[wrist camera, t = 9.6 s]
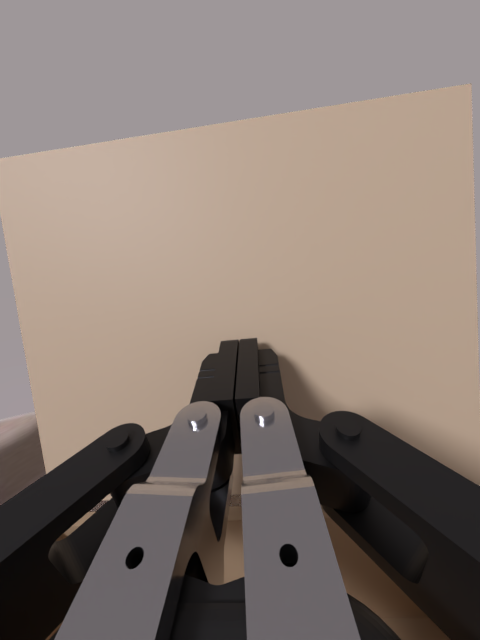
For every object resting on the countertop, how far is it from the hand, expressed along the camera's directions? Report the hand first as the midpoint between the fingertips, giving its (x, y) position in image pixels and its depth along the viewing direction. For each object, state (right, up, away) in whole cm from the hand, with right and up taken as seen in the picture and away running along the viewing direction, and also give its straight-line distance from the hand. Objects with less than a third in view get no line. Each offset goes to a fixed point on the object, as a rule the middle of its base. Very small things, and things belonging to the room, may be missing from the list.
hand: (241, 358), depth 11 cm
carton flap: (0, +2, 0) cm, 2 cm away
